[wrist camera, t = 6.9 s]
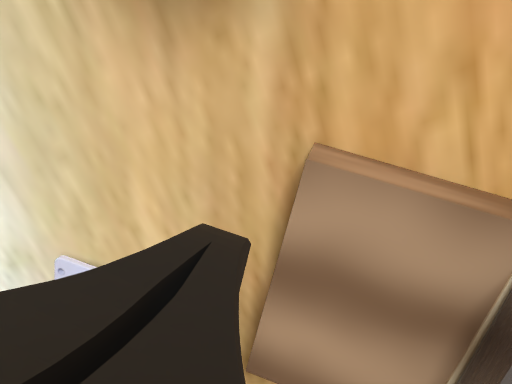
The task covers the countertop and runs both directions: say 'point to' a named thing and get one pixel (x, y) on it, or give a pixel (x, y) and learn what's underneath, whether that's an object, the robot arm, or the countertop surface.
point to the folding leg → (493, 351)
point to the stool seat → (382, 276)
